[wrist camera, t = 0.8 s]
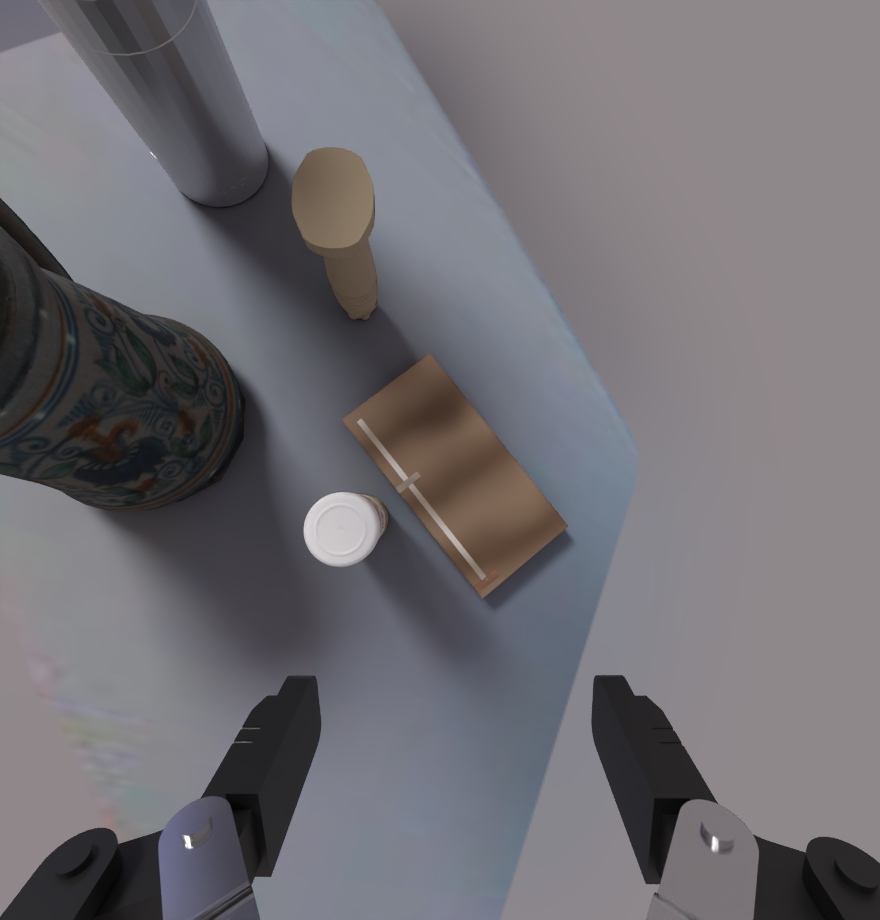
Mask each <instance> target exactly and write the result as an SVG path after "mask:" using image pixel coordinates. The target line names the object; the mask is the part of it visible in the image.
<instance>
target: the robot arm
mask: <svg viewBox="0 0 880 920" xmlns="http://www.w3.org/2000/svg"><path fill="white" fill-rule="evenodd" d="M38 1H39V2H40V4H41V5H42V7H43V8H44V9H45V11H46V12H47V13H48V15H49V16H50V17H51V19H52V20H53V21H54V23H55V24H56V25H57V26H58V28H59V29H60V30H61V32H62V33H63V34H64V36H65V37H66V38H67V40H68V41H69V42H70V44H71V45H72V46H73V48H74V49H75V50H76V52H77V53H78V55H79V56H80V57H81V59H82V60H83V61H84V63H85V64H86V65H87V67H88V68H89V69H90V71H91V72H92V73H93V75H94V76H95V77H96V79H97V80H98V81H99V83H100V84H101V85H102V87H103V88H104V89H105V91H106V92H107V93H108V95H109V96H110V97H111V99H112V100H113V101H114V103H115V104H116V105H117V107H118V108H119V109H120V111H121V112H122V113H123V115H124V116H125V118H126V119H127V120H128V122H129V123H130V124H131V126H132V127H133V128H134V130H135V131H136V132H137V134H138V135H139V136H140V138H141V139H142V140H143V142H144V143H145V144H146V146H147V147H148V148H149V150H150V151H151V153H152V154H153V155H154V157H155V158H156V159H157V161H158V162H159V163H160V165H161V166H162V167H163V169H164V170H165V171H166V173H167V174H168V175H169V177H170V178H171V179H172V181H173V182H174V183H175V184H176V186H177V187H178V188H179V190H180V191H181V192H182V193H184V194H185V195H186V196H187V197H188V198H190V199H192V200H194V201H196V202H197V203H200V204H204V205H207V206H214V207H225V206H231V205H235V204H238V203H241V202H243V201H244V200H246V199H248V198H250V197H251V196H252V195H253V194H254V193H256V192H257V190H258V189H259V188H260V187H261V185H262V184H263V182H264V180H265V177H266V175H267V170H268V153H267V150H266V146H265V144H264V141H263V139H262V136H261V134H260V131H259V129H258V126H257V124H256V122H255V119H254V117H253V114H252V111H251V109H250V106H249V104H248V101H247V99H246V97H245V94H244V92H243V89H242V87H241V84H240V82H239V79H238V77H237V74H236V72H235V70H234V67H233V65H232V62H231V60H230V57H229V55H228V52H227V50H226V47H225V45H224V43H223V40H222V38H221V35H220V33H219V30H218V28H217V25H216V23H215V20H214V18H213V15H212V13H211V11H210V8H209V6H208V3H207V1H206V0H38ZM320 732H321V715H320V706H319V697H318V687H317V680H316V677H315V676H288V677H287V678H286V680H285V682H284V684H283V685H282V687H281V689H280V691H279V693H278V695H277V696H267V697H265V698H264V699H263V700H262V701H261V702H260V703H259V704H258V705H257V706H256V707H255V708H254V709H252V711H251V713H250V714H249V716H248V718H247V719H246V721H245V723H244V725H243V726H242V730H240V732H239V733H238V735H237V737H236V738H235V741H234V744H232V745H231V747H230V749H229V751H228V752H227V754H226V756H225V757H224V759H223V761H222V763H221V764H220V766H219V768H218V769H217V771H216V773H215V775H214V776H213V778H212V780H211V782H210V783H209V785H208V787H207V788H206V790H205V792H204V794H203V795H202V797H201V798H200V799H198V800H196V801H194V802H192V803H190V804H188V805H187V806H185V807H184V808H182V809H181V810H180V811H179V812H178V813H176V814H175V815H174V816H173V817H172V819H171V820H170V821H169V822H168V824H167V825H166V826H165V828H164V829H163V830H161V831H159V832H156V833H153V834H150V835H146V836H143V837H140V838H137V839H133V840H130V841H127V842H124V843H121V844H118V841H117V837H116V834H115V833H114V832H113V831H112V830H110V829H107V828H95V829H91V830H87V831H85V832H83V833H80V834H78V835H76V836H74V837H72V838H71V839H69V840H67V841H66V842H64V843H63V844H62V845H61V846H59V847H58V848H57V849H55V851H53V852H52V853H51V854H50V855H49V856H48V857H47V858H46V859H45V860H44V861H43V862H42V864H41V865H40V866H39V867H38V869H37V870H36V871H35V872H34V874H33V875H32V876H31V878H30V879H29V880H28V882H27V883H26V884H25V886H24V887H23V888H22V889H21V891H20V892H19V893H18V895H17V896H16V897H15V898H14V900H13V901H12V903H11V904H10V905H9V906H8V908H7V909H6V910H5V911H4V913H3V914H2V915H1V917H0V920H260V917H259V913H258V909H257V905H256V901H255V897H254V893H253V889H252V887H251V885H252V883H253V880H254V877H271V875H272V872H273V870H274V867H275V864H276V861H277V858H278V856H279V853H280V850H281V847H282V844H283V842H284V839H285V836H286V833H287V830H288V827H289V825H290V822H291V819H292V816H293V813H294V811H295V808H296V805H297V802H298V799H299V797H300V794H301V791H302V788H303V785H304V782H305V780H306V777H307V774H308V771H309V768H310V766H311V763H312V760H313V757H314V754H315V752H316V749H317V746H318V742H319V738H320ZM592 733H593V738H594V743H595V746H596V749H597V752H598V754H599V757H600V760H601V763H602V765H603V768H604V771H605V773H606V776H607V779H608V782H609V785H610V787H611V790H612V793H613V795H614V798H615V801H616V804H617V806H618V809H619V812H620V815H621V817H622V820H623V823H624V825H625V828H626V831H627V834H628V836H629V839H630V842H631V845H632V847H633V850H634V853H635V855H636V858H637V861H638V863H639V866H640V869H641V872H642V875H643V877H644V880H645V883H646V884H660V886H659V890H658V893H654V895H653V898H652V901H651V904H650V908H649V912H648V915H647V919H646V920H880V863H879V862H877V861H876V860H875V859H874V858H872V857H871V856H870V855H868V854H867V853H865V852H864V851H862V850H860V849H859V848H857V847H855V846H853V845H851V844H849V843H847V842H844V841H842V840H839V839H835V838H830V837H818V838H815V839H813V840H811V841H810V842H809V843H808V846H807V849H806V853H805V852H802V851H799V850H795V849H792V848H789V847H786V846H783V845H779V844H776V843H773V842H770V841H767V840H764V839H762V838H760V837H757V836H755V835H753V834H752V833H751V831H750V830H749V828H748V827H747V826H746V824H745V823H744V822H743V821H742V820H741V819H739V818H738V817H737V816H736V815H735V814H734V813H732V812H731V811H730V810H728V809H726V808H725V807H723V806H721V805H719V804H718V803H717V801H716V800H715V798H714V796H713V795H712V793H711V791H710V790H709V788H708V786H707V785H706V783H705V781H704V780H703V778H702V776H701V774H700V773H699V771H698V769H697V768H696V766H695V765H694V763H693V761H692V759H691V758H690V756H689V754H688V753H687V751H686V749H685V748H684V746H682V744H681V741H680V740H679V738H678V736H677V734H676V733H675V731H673V728H672V726H671V724H670V722H669V721H668V719H667V718H666V716H665V714H664V712H663V711H662V710H661V709H660V708H659V707H658V706H657V705H656V704H654V703H653V702H652V701H651V700H650V699H649V698H648V697H647V696H635V695H634V694H633V692H632V690H631V688H630V686H629V685H628V682H627V681H626V679H625V677H624V676H622V675H597V676H595V678H594V684H593V702H592Z"/></svg>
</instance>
